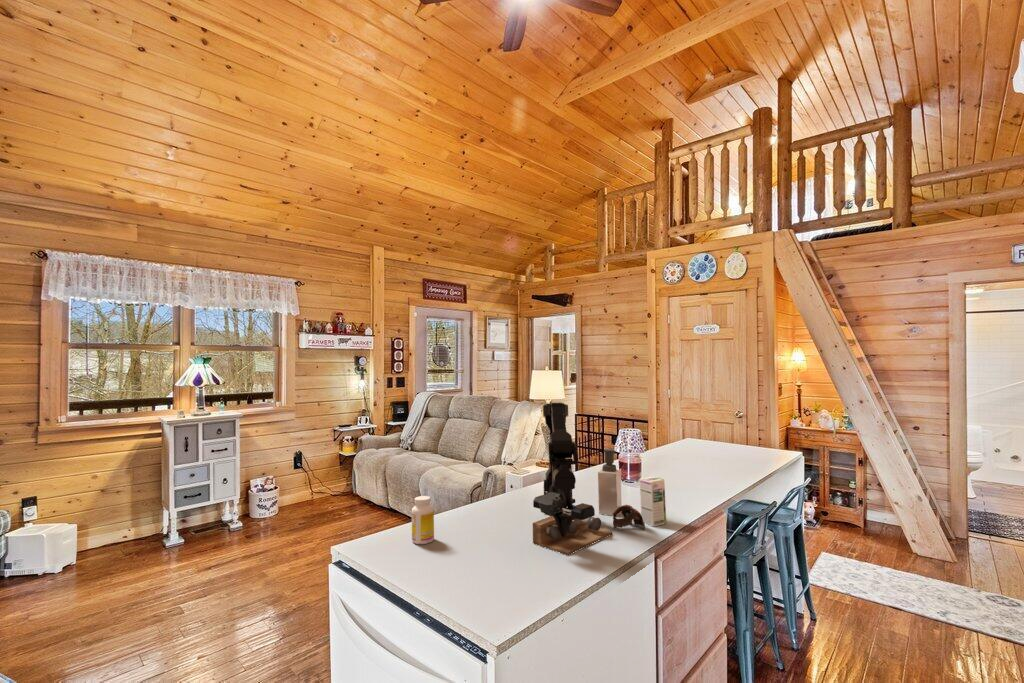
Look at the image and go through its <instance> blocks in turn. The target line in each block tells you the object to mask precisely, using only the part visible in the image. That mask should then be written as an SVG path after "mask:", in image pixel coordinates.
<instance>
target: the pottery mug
mask: <svg viewBox="0 0 1024 683" xmlns="http://www.w3.org/2000/svg"><path fill="white" fill-rule="evenodd" d="M619 512H621V513H620V514H621V515H622V516H623V518H617V516H616V515H617V514H618V513H619ZM612 519H613V520H612V525H613V528H614V529H615V528H616V529H617V528H621V529H622V528H623V527H625V528H626V527H627V526H632V527H633V526H641V527H642V528H643V531H646V524H645V523H644V521H643V518H642V516H641V512H639V511H638V509H636V508H634V507H633V506H632V505H630V504H623V505H622V506H620V507H619V508H617V509H616V510H615V511H614V512H613V516H612ZM633 524H634V525H633Z"/></svg>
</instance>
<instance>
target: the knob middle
mask: <svg viewBox="0 0 1024 683" xmlns="http://www.w3.org/2000/svg"><path fill="white" fill-rule="evenodd" d="M577 530H578V523H577V521H574V520H572V522H571V525H570V527H569V529H568V533H571V534H575V533H576V532H577Z"/></svg>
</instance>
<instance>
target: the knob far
mask: <svg viewBox="0 0 1024 683" xmlns="http://www.w3.org/2000/svg"><path fill="white" fill-rule="evenodd" d="M575 521H577V522H580V523H583V524H586V525H588V528H589V529H592V530H595V531H598V530H599V529H601V526H602V520H601V518H599V517H596V516H592V517H590V518H587V519H585V520H579V519H575Z"/></svg>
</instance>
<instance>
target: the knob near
mask: <svg viewBox="0 0 1024 683" xmlns="http://www.w3.org/2000/svg"><path fill="white" fill-rule="evenodd" d="M546 533H548V534H549V536H550V538H552V539H555V540H561V539H562V536H561V534H560V531H559V528H558V526H556V525H552V526H551V527H547V526H546Z"/></svg>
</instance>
